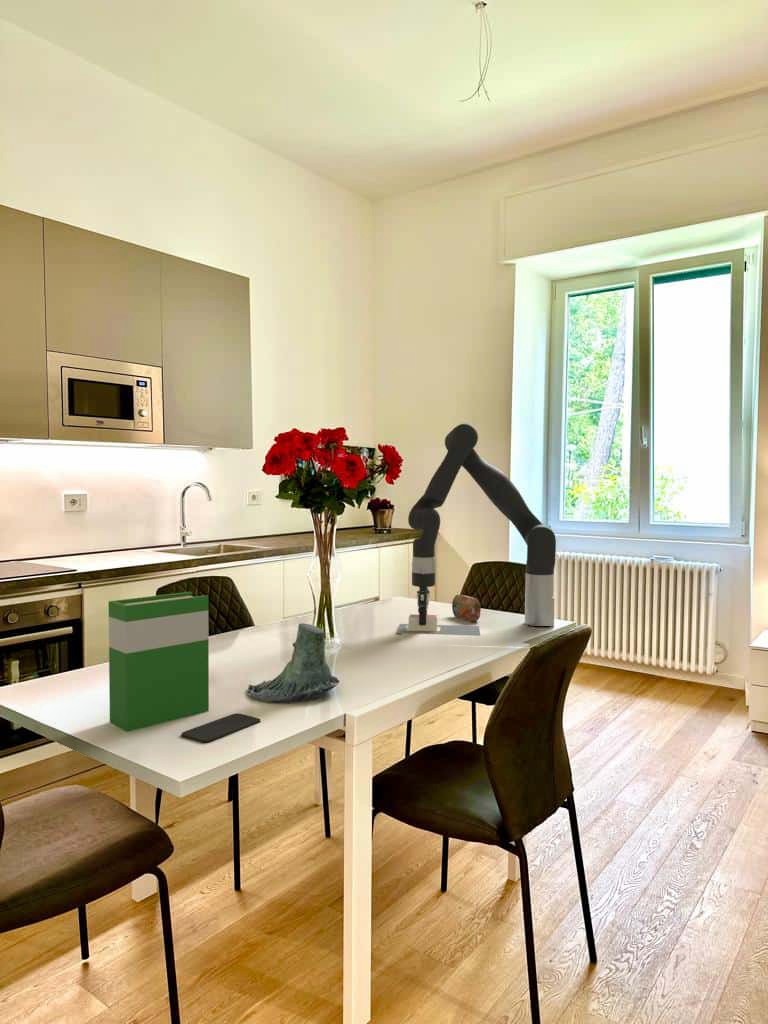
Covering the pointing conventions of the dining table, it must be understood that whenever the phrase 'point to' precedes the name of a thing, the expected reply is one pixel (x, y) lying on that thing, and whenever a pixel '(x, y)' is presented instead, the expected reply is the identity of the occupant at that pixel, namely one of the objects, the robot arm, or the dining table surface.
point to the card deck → (430, 625)
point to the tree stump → (299, 672)
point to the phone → (220, 728)
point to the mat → (442, 630)
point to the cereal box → (158, 659)
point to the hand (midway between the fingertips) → (423, 622)
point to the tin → (466, 608)
